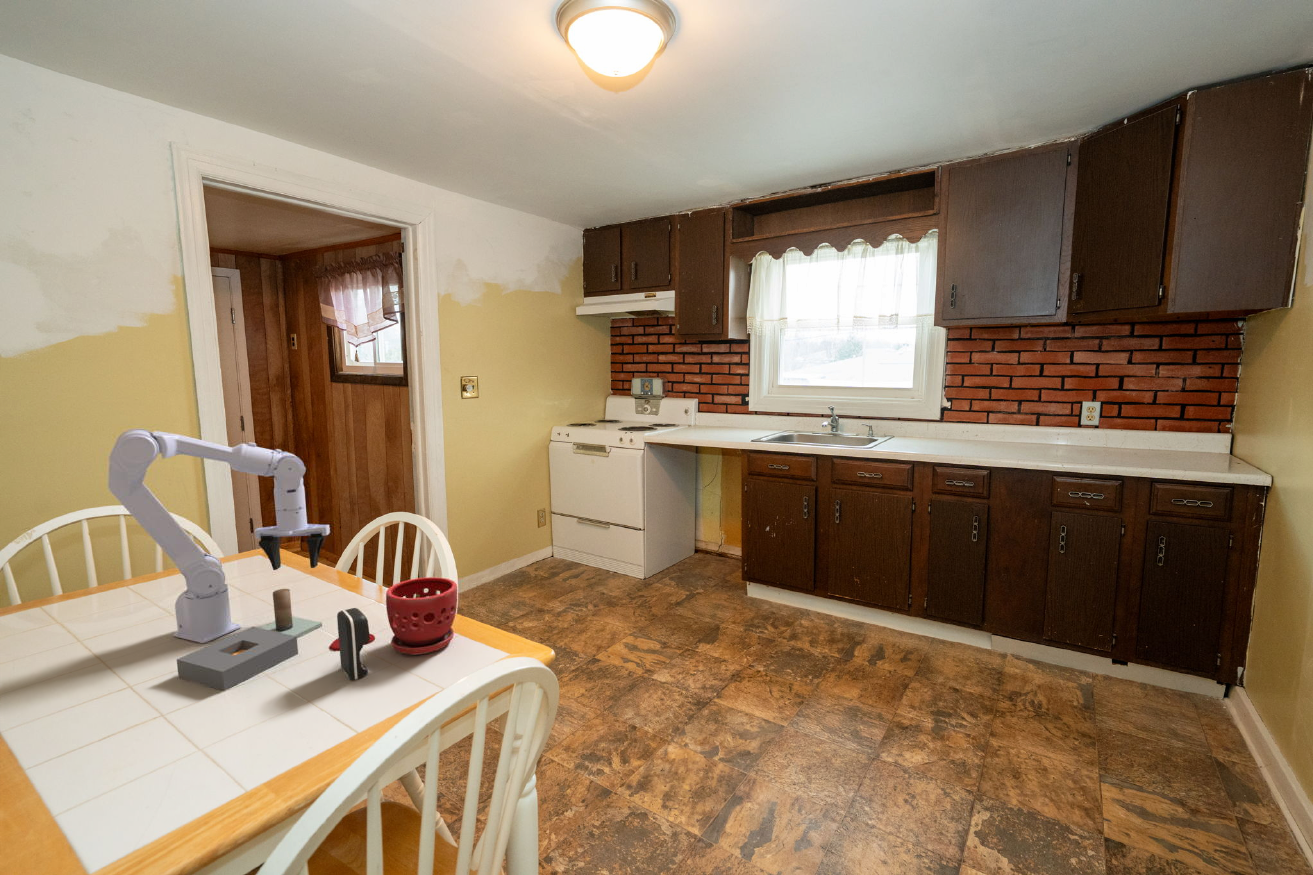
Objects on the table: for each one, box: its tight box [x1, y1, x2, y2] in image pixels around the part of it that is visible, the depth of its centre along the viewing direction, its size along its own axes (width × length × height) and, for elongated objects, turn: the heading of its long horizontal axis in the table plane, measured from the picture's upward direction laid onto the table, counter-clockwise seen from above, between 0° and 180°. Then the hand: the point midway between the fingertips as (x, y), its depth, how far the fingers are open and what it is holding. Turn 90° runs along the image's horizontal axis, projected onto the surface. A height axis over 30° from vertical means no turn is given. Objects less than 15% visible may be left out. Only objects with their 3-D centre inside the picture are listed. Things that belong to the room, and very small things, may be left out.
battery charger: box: [336, 607, 370, 681], centre depth 109 cm, size 7×4×11 cm, turn 42°
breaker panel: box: [176, 626, 299, 692], centre depth 112 cm, size 12×14×4 cm
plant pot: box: [385, 576, 458, 656], centre depth 120 cm, size 13×13×12 cm
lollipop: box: [329, 632, 376, 652], centre depth 125 cm, size 8×1×15 cm
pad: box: [260, 615, 323, 639], centre depth 126 cm, size 10×9×1 cm
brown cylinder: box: [272, 588, 293, 631], centre depth 125 cm, size 3×3×8 cm
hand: (295, 567), depth 134 cm, fingers open, 7 cm apart
